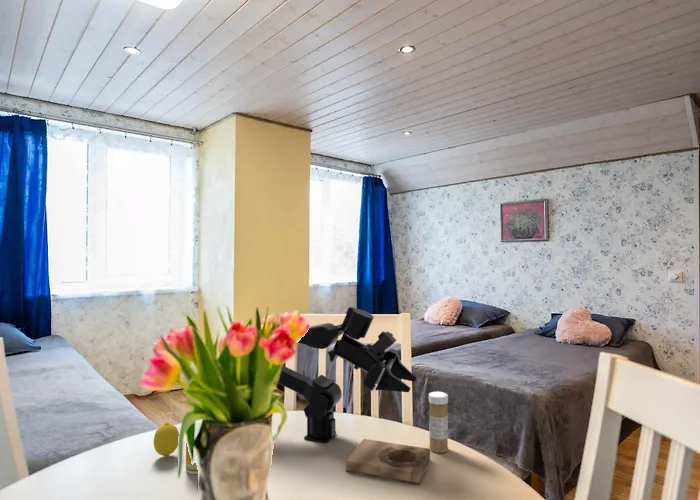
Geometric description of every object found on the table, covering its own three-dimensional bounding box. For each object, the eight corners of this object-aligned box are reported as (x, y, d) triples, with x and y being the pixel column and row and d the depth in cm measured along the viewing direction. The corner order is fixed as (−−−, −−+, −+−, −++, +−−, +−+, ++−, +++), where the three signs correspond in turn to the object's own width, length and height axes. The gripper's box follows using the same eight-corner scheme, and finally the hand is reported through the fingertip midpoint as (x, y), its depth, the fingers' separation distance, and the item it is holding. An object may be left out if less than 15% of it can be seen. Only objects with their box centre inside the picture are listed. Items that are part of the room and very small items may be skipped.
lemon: (148, 460, 100) (148, 425, 100) (164, 450, 105) (164, 417, 105) (168, 463, 98) (168, 428, 99) (184, 453, 104) (184, 419, 104)
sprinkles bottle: (437, 444, 108) (437, 389, 109) (452, 450, 105) (451, 394, 105) (425, 449, 105) (424, 393, 106) (440, 455, 102) (439, 398, 102)
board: (346, 471, 94) (346, 460, 94) (364, 449, 106) (364, 438, 106) (420, 485, 89) (420, 473, 89) (431, 459, 100) (430, 448, 100)
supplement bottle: (203, 476, 93) (204, 430, 93) (180, 473, 94) (181, 428, 94) (216, 464, 98) (216, 420, 98) (194, 462, 99) (194, 419, 99)
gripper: (359, 331, 101) (421, 364, 96) (379, 320, 118) (431, 348, 114) (340, 373, 102) (400, 408, 97) (362, 356, 120) (413, 385, 115)
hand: (412, 384), depth 106 cm, fingers open, 9 cm apart
